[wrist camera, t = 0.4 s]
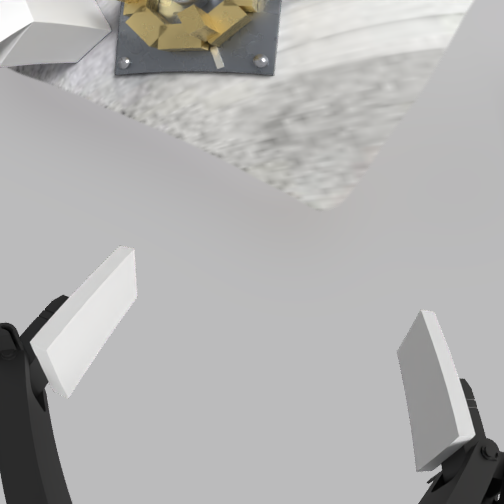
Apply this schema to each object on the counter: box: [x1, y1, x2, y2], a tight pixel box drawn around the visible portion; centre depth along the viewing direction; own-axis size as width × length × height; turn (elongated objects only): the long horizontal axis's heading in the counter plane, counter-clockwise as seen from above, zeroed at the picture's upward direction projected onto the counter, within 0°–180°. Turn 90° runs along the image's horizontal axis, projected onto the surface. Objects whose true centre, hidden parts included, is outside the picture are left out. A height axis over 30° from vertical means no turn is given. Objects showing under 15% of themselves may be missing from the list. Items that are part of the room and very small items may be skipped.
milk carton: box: [0, 0, 112, 68], centre depth 23 cm, size 7×7×19 cm
